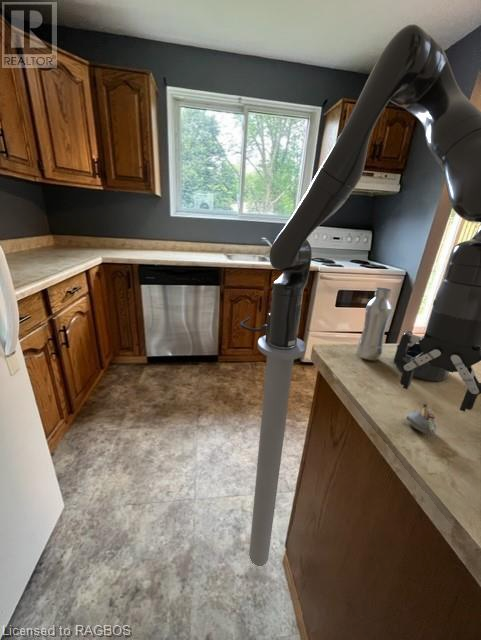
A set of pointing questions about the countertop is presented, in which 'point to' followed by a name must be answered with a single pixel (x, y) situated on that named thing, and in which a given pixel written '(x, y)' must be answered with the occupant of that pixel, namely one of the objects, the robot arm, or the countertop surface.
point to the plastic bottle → (375, 325)
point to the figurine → (422, 420)
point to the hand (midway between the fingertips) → (432, 397)
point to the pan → (423, 366)
